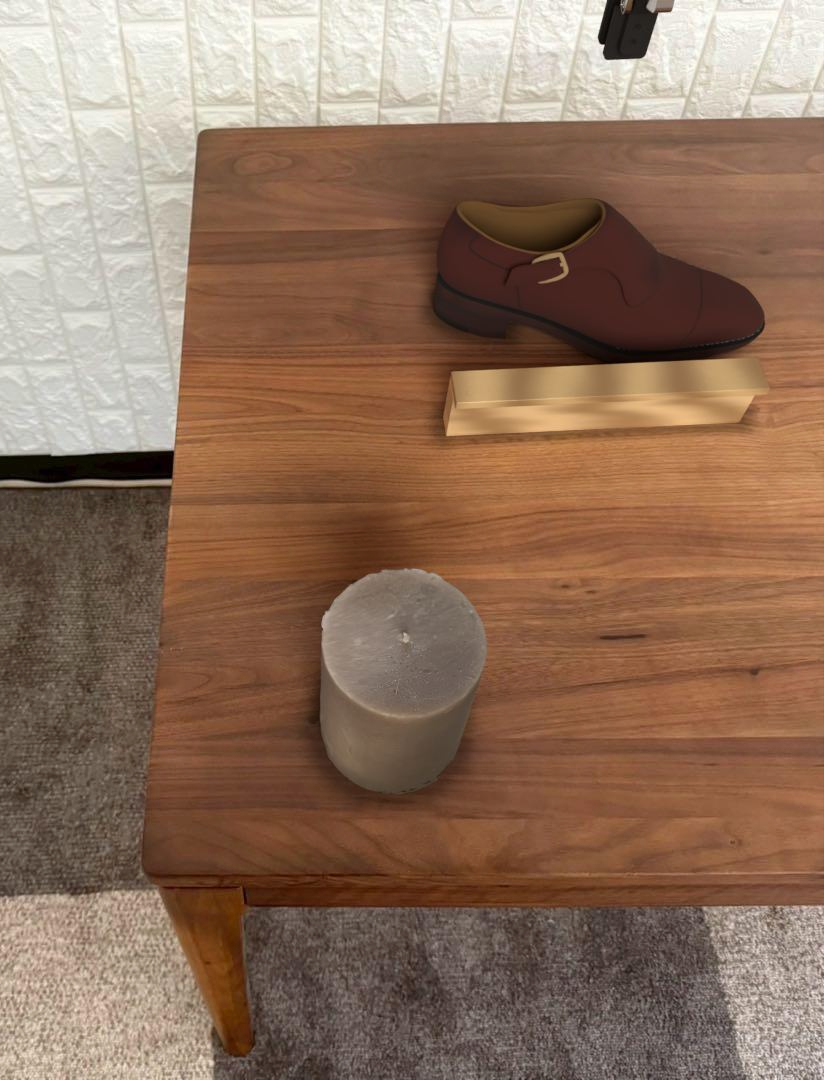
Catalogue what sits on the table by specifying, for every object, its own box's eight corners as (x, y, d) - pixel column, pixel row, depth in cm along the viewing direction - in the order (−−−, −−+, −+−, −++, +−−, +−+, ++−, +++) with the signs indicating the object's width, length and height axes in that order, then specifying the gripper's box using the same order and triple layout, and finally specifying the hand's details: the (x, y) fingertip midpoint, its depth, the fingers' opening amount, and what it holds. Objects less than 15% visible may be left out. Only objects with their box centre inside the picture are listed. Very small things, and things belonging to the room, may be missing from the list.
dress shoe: (757, 383, 85) (817, 281, 75) (423, 344, 88) (438, 241, 78) (751, 304, 89) (806, 197, 80) (434, 269, 93) (449, 162, 83)
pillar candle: (452, 806, 67) (486, 724, 54) (307, 781, 68) (306, 694, 55) (466, 672, 72) (499, 568, 59) (330, 651, 73) (334, 544, 60)
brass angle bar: (732, 403, 84) (758, 356, 79) (743, 434, 82) (770, 388, 77) (442, 417, 84) (451, 371, 79) (447, 448, 82) (456, 403, 77)
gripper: (798, -171, 58) (694, 111, 74) (726, -287, 66) (646, -10, 82) (668, -166, 58) (591, 115, 74) (611, -282, 66) (553, -6, 82)
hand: (620, 48), depth 78 cm, fingers closed
